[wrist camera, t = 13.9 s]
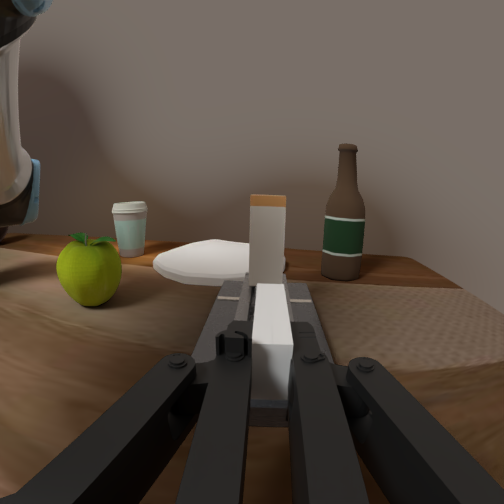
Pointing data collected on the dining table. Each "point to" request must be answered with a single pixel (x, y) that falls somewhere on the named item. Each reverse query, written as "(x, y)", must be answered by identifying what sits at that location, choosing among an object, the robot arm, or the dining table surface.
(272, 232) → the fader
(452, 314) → the dining table surface
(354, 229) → the beer bottle
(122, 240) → the coffee cup
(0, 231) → the wooden sphere
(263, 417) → the fader console
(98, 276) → the fruit
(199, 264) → the decorative plate
